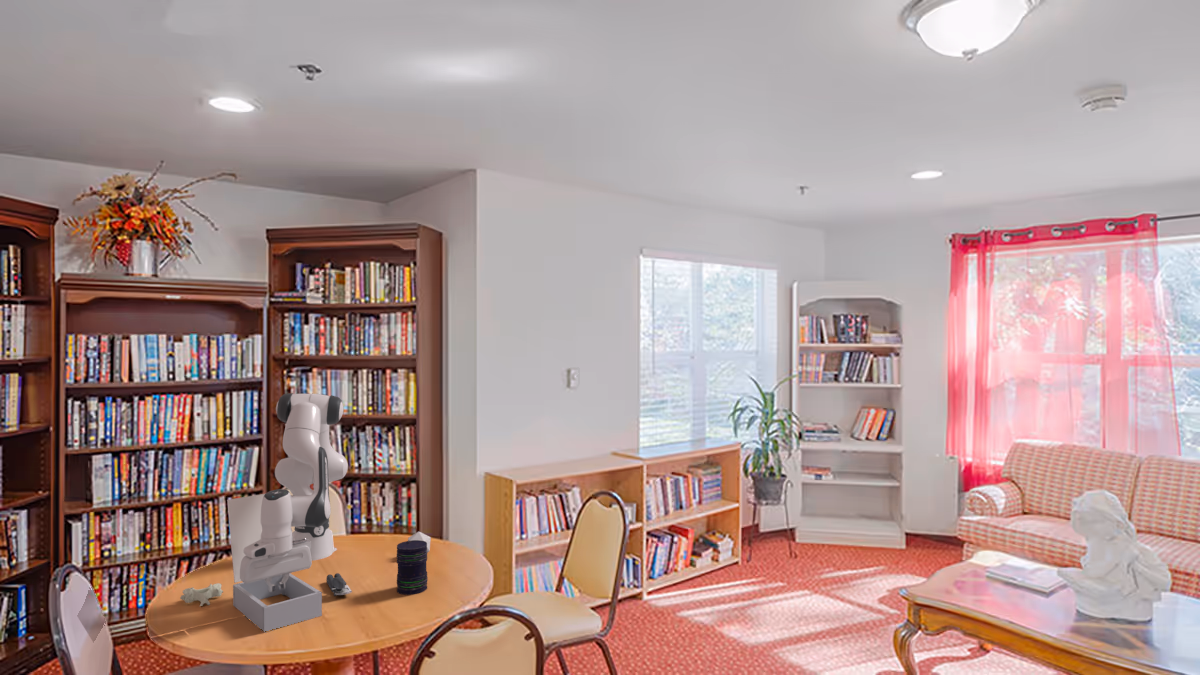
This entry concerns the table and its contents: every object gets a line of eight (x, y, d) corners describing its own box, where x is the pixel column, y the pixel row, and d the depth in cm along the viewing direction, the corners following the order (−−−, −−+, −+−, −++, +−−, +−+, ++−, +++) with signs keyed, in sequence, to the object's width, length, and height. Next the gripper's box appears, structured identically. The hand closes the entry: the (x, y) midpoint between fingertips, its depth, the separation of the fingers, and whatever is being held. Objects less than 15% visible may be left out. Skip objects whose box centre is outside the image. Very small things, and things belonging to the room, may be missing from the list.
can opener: (352, 598, 218) (352, 578, 218) (336, 601, 215) (336, 581, 215) (340, 580, 234) (340, 562, 234) (325, 583, 231) (325, 564, 231)
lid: (235, 582, 211) (234, 582, 211) (285, 570, 222) (284, 570, 222) (228, 499, 215) (227, 499, 216) (277, 491, 226) (276, 491, 227)
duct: (233, 607, 210) (233, 584, 210) (287, 592, 222) (287, 571, 222) (264, 632, 192) (264, 608, 192) (321, 615, 203) (321, 592, 203)
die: (435, 556, 259) (435, 530, 259) (417, 562, 251) (417, 535, 251) (419, 552, 263) (419, 526, 263) (401, 559, 256) (401, 532, 256)
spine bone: (182, 616, 207) (183, 602, 206) (179, 599, 214) (179, 585, 214) (226, 608, 214) (227, 594, 213) (222, 592, 222) (222, 578, 221)
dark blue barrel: (433, 589, 224) (433, 544, 224) (406, 597, 217) (406, 551, 217) (417, 582, 231) (417, 538, 231) (391, 589, 224) (390, 544, 224)
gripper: (306, 535, 216) (307, 578, 216) (237, 549, 202) (237, 596, 202) (315, 539, 212) (315, 583, 212) (245, 554, 197) (245, 601, 197)
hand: (277, 589), depth 207 cm, fingers closed
